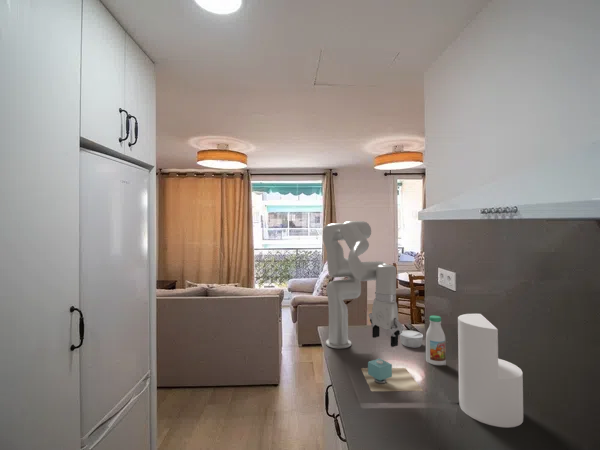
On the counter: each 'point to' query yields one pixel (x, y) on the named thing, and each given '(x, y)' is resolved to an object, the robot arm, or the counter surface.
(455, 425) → the counter surface
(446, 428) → the counter surface
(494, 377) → the white stepped round block
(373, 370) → the teal knob cube
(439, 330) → the milk bottle
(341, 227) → the robot arm
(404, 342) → the ramekin
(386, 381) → the stud
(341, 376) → the counter surface
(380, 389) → the board
